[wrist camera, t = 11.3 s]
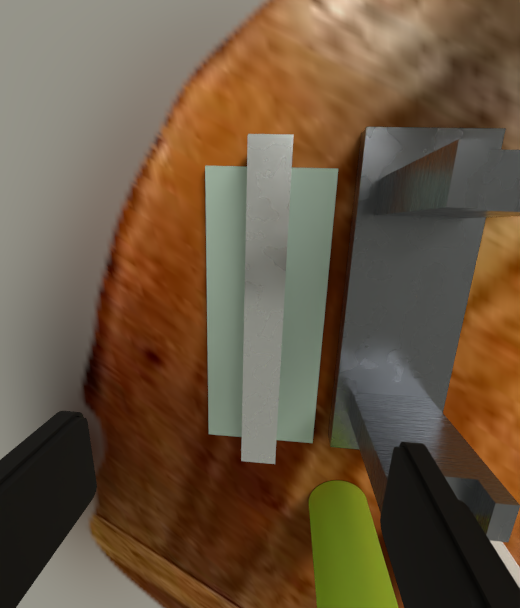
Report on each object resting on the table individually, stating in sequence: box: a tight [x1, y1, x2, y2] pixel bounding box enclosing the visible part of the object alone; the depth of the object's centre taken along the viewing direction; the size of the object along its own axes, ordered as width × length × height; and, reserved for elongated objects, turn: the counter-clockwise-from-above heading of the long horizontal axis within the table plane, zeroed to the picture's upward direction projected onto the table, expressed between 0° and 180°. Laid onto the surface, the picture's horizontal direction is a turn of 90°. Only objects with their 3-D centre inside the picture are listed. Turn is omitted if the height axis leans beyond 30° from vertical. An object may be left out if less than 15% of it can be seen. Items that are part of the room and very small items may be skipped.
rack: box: [328, 127, 520, 542], centre depth 19 cm, size 26×9×12 cm, turn 178°
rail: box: [241, 134, 293, 464], centre depth 24 cm, size 26×3×2 cm, turn 178°
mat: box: [205, 166, 338, 443], centre depth 26 cm, size 24×10×1 cm, turn 178°
